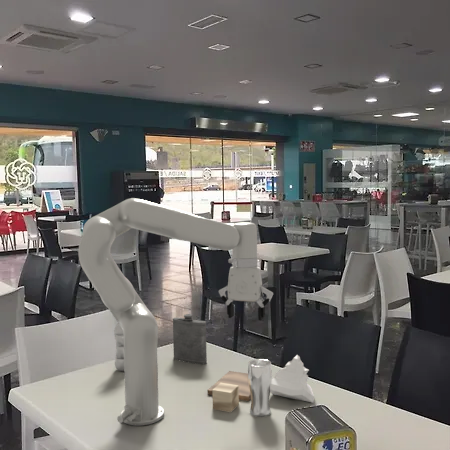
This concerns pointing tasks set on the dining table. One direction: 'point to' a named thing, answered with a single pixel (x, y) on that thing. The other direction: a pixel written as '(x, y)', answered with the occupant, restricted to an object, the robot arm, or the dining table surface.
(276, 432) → the dining table surface
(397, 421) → the dining table surface
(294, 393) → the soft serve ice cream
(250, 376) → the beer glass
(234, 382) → the serving board
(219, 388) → the beech block
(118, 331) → the plastic bottle
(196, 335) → the flask
